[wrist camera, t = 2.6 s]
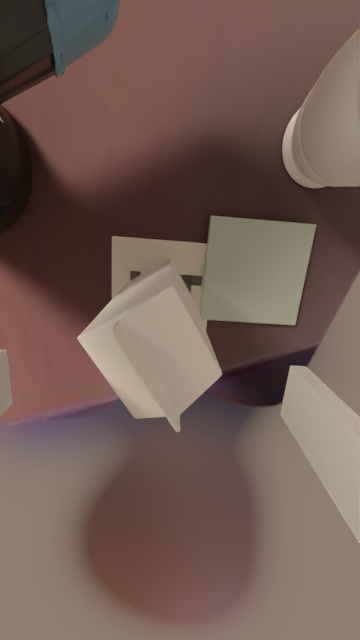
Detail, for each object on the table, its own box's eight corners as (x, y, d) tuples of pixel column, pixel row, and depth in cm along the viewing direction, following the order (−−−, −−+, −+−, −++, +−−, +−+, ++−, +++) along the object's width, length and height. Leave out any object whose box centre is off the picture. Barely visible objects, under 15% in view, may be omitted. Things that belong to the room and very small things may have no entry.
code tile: (113, 331, 35) (111, 334, 34) (113, 235, 32) (111, 235, 31) (204, 337, 36) (205, 340, 35) (214, 243, 33) (215, 244, 32)
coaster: (199, 317, 34) (200, 319, 33) (209, 216, 31) (211, 215, 30) (291, 322, 35) (295, 325, 34) (312, 224, 32) (316, 224, 31)
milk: (170, 257, 32) (175, 293, 11) (194, 301, 34) (240, 407, 12) (126, 282, 33) (49, 363, 11) (152, 324, 34) (126, 462, 13)
